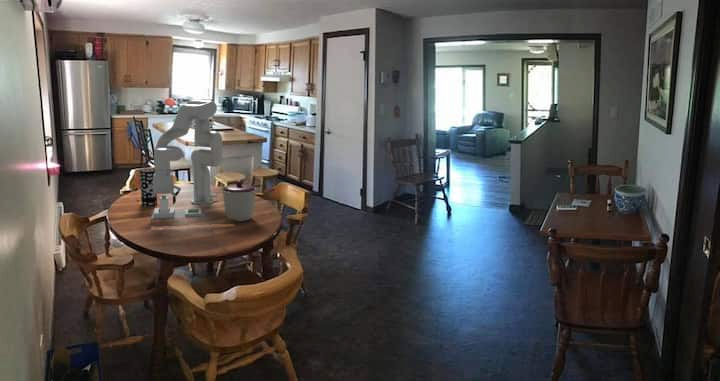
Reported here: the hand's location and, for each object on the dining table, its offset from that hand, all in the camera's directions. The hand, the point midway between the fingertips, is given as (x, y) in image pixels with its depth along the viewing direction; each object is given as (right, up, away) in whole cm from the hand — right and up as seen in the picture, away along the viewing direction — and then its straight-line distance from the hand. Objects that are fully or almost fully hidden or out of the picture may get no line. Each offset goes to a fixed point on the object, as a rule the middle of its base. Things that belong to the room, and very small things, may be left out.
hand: (164, 204), depth 278 cm
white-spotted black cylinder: (-18, -1, +26) cm, 31 cm away
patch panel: (+6, -7, +4) cm, 10 cm away
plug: (0, -6, +1) cm, 6 cm away
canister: (+39, -8, +5) cm, 40 cm away
